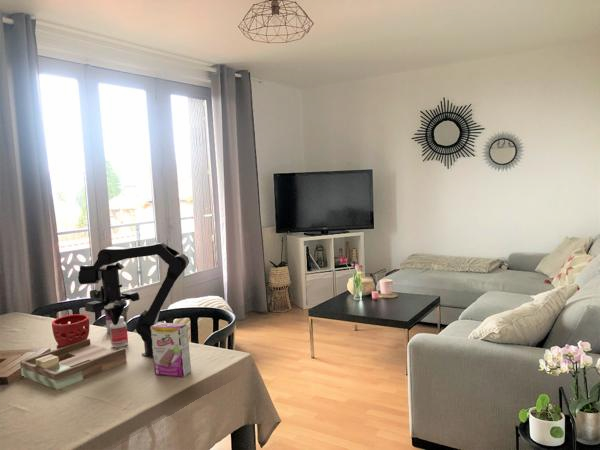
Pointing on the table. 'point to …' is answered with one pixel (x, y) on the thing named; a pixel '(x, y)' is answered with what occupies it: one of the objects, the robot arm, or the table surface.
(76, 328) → the plant pot
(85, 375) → the box
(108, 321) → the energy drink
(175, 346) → the candy bar box
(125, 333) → the pill bottle
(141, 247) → the robot arm
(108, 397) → the table surface
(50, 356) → the maple block
